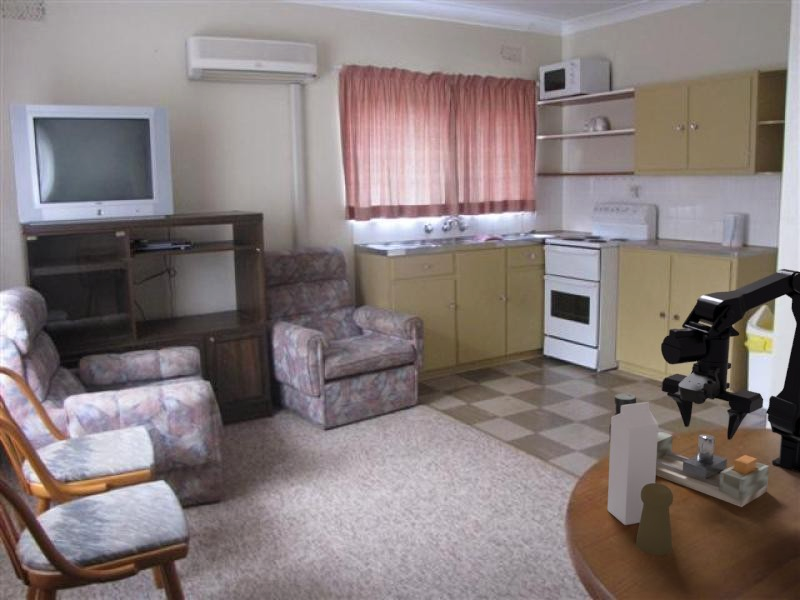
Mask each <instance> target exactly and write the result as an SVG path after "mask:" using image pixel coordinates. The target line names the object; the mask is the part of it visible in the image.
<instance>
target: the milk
mask: <svg viewBox="0 0 800 600" xmlns="http://www.w3.org/2000/svg"><path fill="white" fill-rule="evenodd" d="M610 425H611V439H610V463H609V462H608V488H607V489H608V493H607V511H608V512H609V513H610V514H611V515H612V516H613V517H615V518H616V519H617V520H618V521H619V522H621V523H622V524H623V525H624V526H628V525H629V526H630V525H634V524H635V525H636V524H638V523H639V524H640V519H641V514H642V509H643V504H644V503H643V502H642V500H641V490H642V488H643V487H644V486H645V485H647V484H650V483H656V457H657V439H658V432H659V422H658V421H657V419H656V417H654V415H653V413H652V411H651V410H650V402H649V401H646V402H645V401H644V402H636V404H628V405H622V406H621V412H620V414H617V415H615V414H614V415H613V416H611V418H610Z"/></svg>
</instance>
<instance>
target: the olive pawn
mask: <svg viewBox="0 0 800 600" xmlns="http://www.w3.org/2000/svg"><path fill="white" fill-rule="evenodd" d="M673 499H674V494H673V492H672V489H670V488H669V487H668V486H667V485H665V484H662V483H656V482H655V483H650V484H647V485H645V486H644V487H643V488H642V490H641V500H642V502H643V503H644V504H643V509H642V514H641V519H640V523H639V524H638V529H637V535H636V540H635V546H636V547H637V549H638V550H639V551H641V550H642V552H644V553H645V552H646V553H645V554H648V555H653V556H665V555H668V554H670V553H671V552H672V551H673V539H672V528H671V516H670V514H671V513H670V507H671V505H673V502H674V501H673Z"/></svg>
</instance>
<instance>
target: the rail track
mask: <svg viewBox="0 0 800 600" xmlns="http://www.w3.org/2000/svg"><path fill="white" fill-rule="evenodd" d="M673 437H674V435H672V434H670V433H667V432H662V431H658V439H657V457H656V476H657V477H660V478H663V479H664V480H668V481H671V482H673V483H676V484H678V485H681V486H684V487H687V488H688V489H692V490H694V491H697V492H700V493H702V494H706V495H708V496H711V497H712V498H713V497H714V498H716V499H719V500H722V501H724V502H726V503H729V504H732V505H735V506H737V507H739V508H743V507H744V506H745V505H747V504H749V503H751V502H753V501H754V500H755V499H757V498H759V497H761V496H762V495H764V494H765V493H767V492H768V485H769V484H768V483H769V473H770V472H769V470H770V465H767V464H765V463H761V462H758V461H757V464H756V470H755V471H753V472H752V473H750V474H748V475H745V474H742V473H739V472H736V471H734V464H733V465H731V466H730V467H728V468H726V469H724V470H722V471H720V472H718V473H716V474H714V475H712V476H710V477H708V478H706V479H705V478H702V477H699V476H696V475H693V474H690V473H688V472H685V471H683V461H685V460H688V459H690V458H691V457H687V456H684V455H681V454H678V453H675V452H673V441H674V440H673V439H674V438H673ZM656 476H655V477H656Z"/></svg>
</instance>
